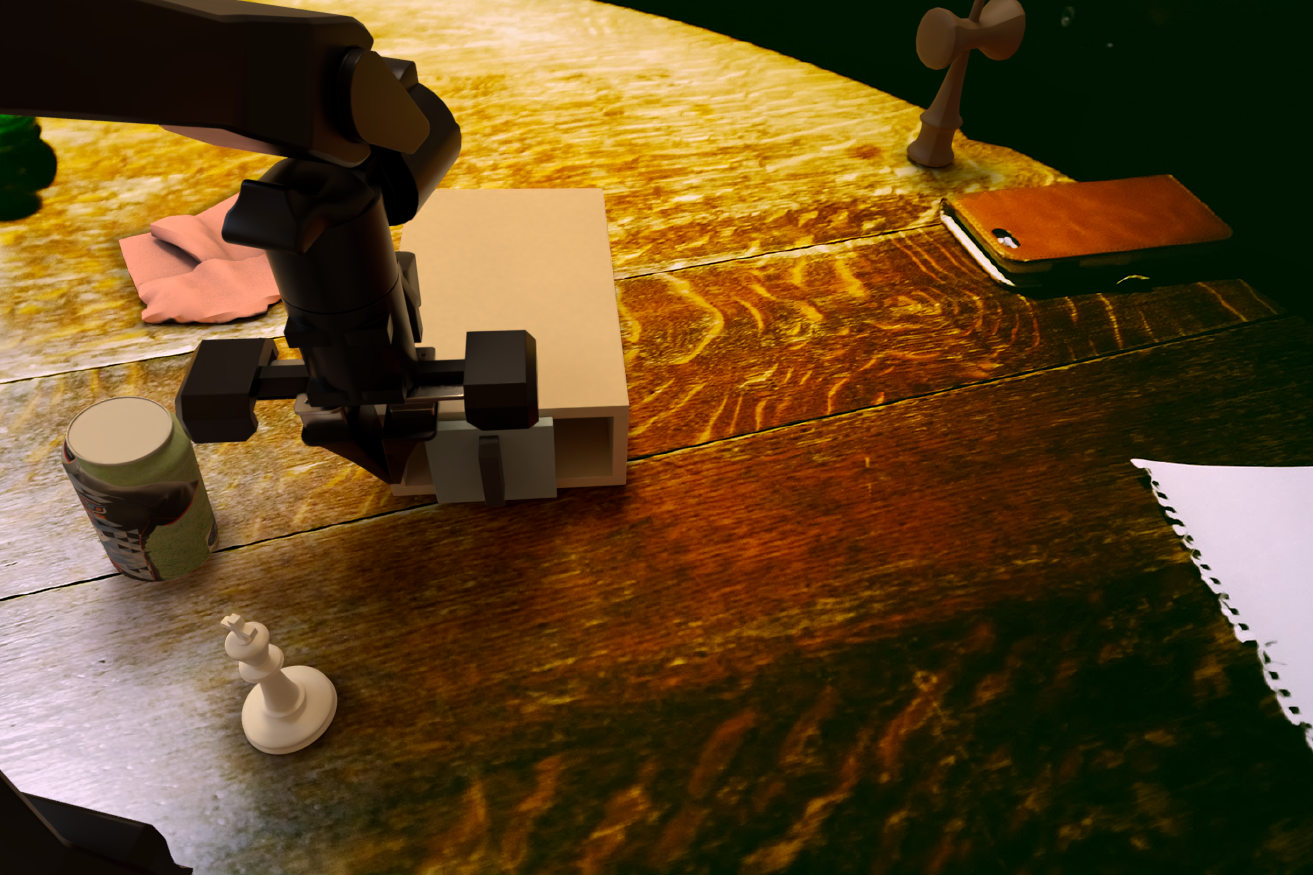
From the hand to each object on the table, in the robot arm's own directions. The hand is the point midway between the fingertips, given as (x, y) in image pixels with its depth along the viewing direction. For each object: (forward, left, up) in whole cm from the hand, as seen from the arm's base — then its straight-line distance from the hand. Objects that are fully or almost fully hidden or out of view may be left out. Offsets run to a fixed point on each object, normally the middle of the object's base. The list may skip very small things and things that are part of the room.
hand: (395, 478), depth 52 cm
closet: (+15, -7, -4) cm, 17 cm away
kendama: (+47, -53, -4) cm, 71 cm away
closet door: (0, -6, -4) cm, 7 cm away
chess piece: (-13, +5, -4) cm, 15 cm away
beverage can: (-2, +14, -4) cm, 15 cm away
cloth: (+32, +17, -4) cm, 36 cm away
